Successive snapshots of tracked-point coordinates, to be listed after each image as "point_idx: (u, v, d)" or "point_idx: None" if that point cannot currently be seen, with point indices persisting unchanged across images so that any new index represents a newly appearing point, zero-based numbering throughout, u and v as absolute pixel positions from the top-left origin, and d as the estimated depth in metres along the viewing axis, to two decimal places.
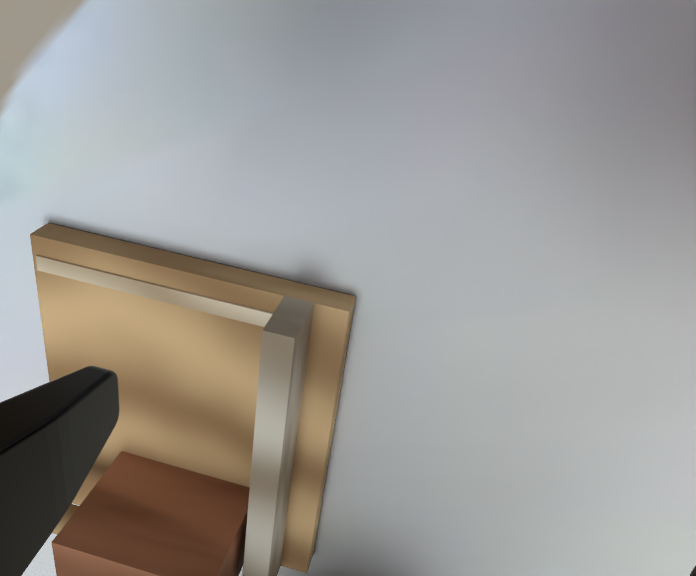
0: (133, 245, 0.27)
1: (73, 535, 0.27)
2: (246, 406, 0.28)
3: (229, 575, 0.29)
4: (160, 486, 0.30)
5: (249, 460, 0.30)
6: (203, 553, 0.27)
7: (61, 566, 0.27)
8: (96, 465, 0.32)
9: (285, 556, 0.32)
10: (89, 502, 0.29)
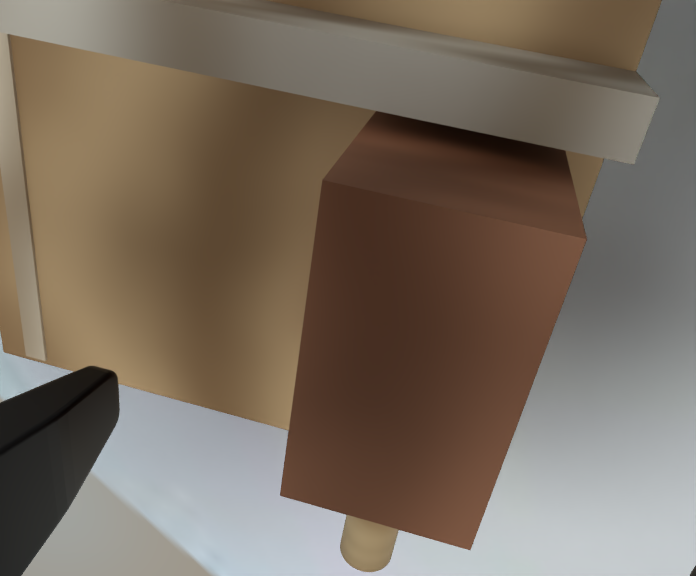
0: None
1: None
2: (179, 92, 0.15)
3: (470, 163, 0.11)
4: None
5: (307, 106, 0.15)
6: None
7: (350, 505, 0.13)
8: None
9: (599, 54, 0.13)
10: None
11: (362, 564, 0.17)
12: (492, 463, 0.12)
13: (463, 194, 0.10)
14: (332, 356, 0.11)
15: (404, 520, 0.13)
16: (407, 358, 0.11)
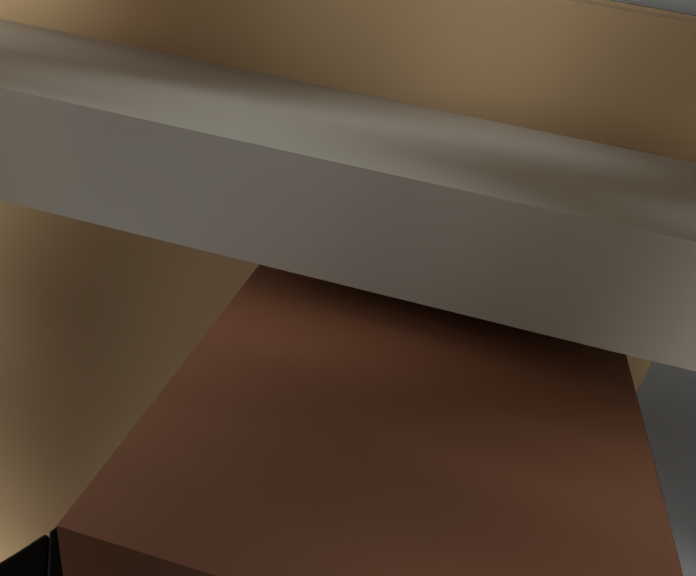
0: None
1: None
2: None
3: (437, 388, 0.06)
4: None
5: None
6: None
7: None
8: None
9: (679, 141, 0.07)
10: None
11: None
12: None
13: (407, 530, 0.04)
14: None
15: None
16: None
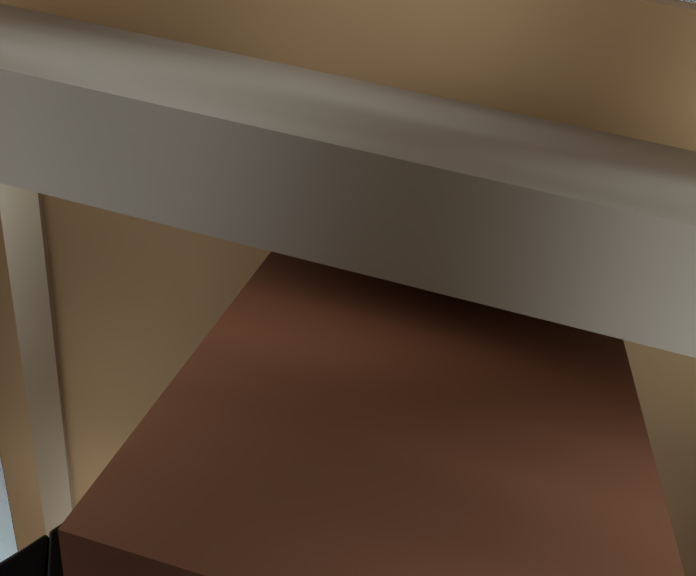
0: None
1: None
2: None
3: (439, 390, 0.06)
4: None
5: None
6: None
7: None
8: None
9: None
10: None
11: None
12: None
13: (408, 534, 0.04)
14: None
15: None
16: None
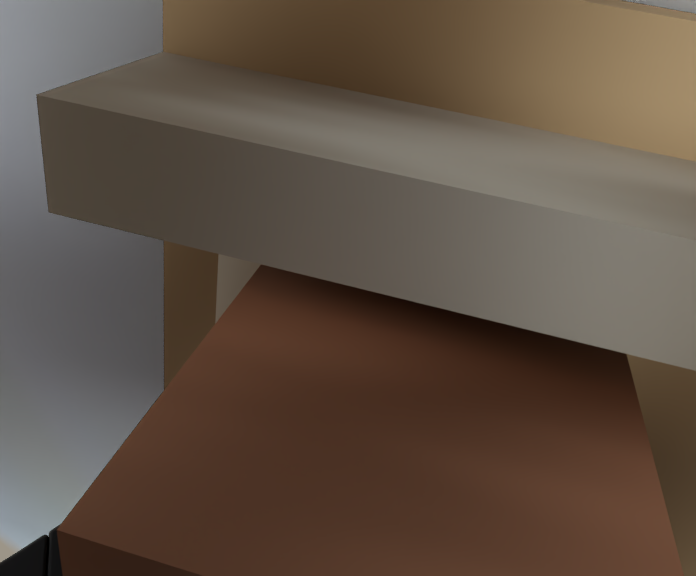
0: None
1: None
2: None
3: (438, 391, 0.06)
4: None
5: None
6: None
7: None
8: None
9: None
10: None
11: None
12: None
13: (408, 536, 0.04)
14: None
15: None
16: None
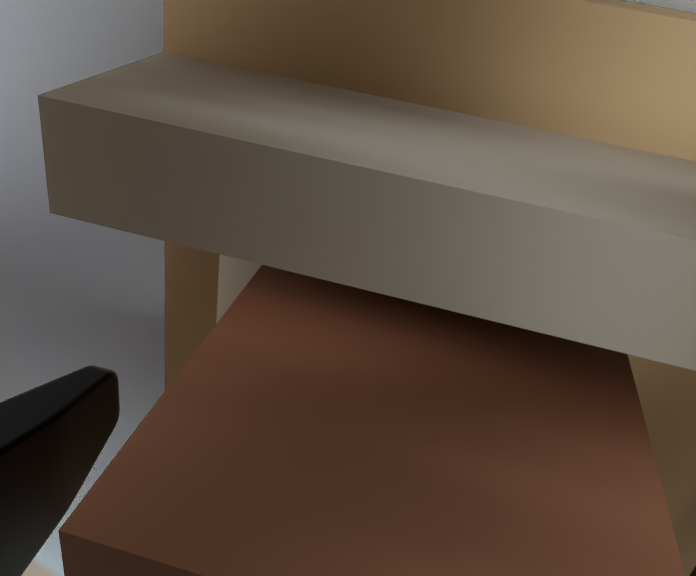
0: None
1: None
2: None
3: (440, 391, 0.06)
4: None
5: None
6: None
7: None
8: None
9: None
10: None
11: None
12: None
13: (410, 534, 0.04)
14: None
15: None
16: None
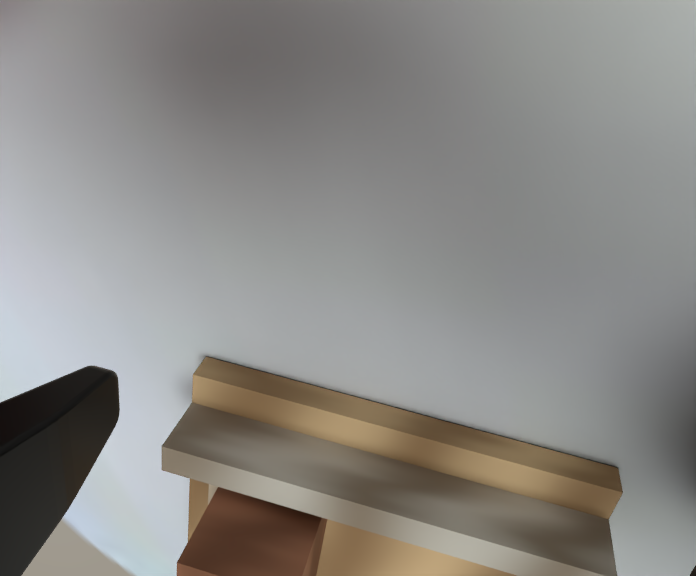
0: None
1: None
2: None
3: (264, 525, 0.23)
4: None
5: None
6: None
7: None
8: None
9: (587, 509, 0.23)
10: None
11: None
12: None
13: (246, 563, 0.21)
14: None
15: None
16: None
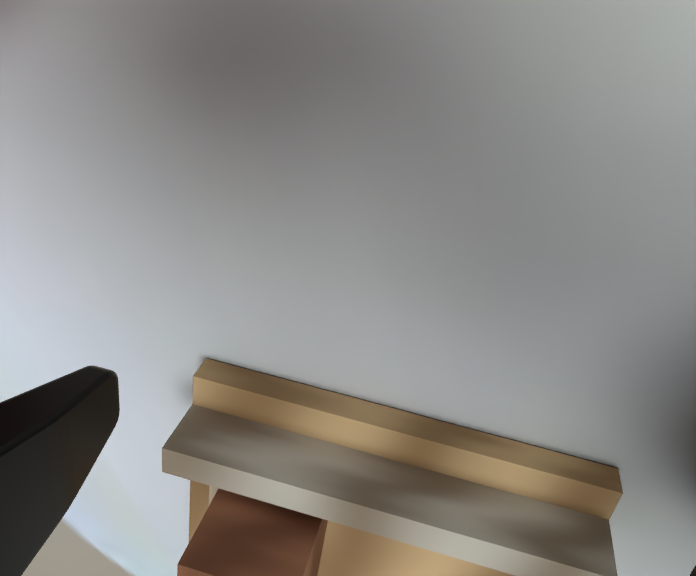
0: None
1: None
2: None
3: (264, 526, 0.23)
4: None
5: None
6: None
7: None
8: None
9: (588, 510, 0.23)
10: None
11: None
12: None
13: (247, 564, 0.21)
14: None
15: None
16: None
